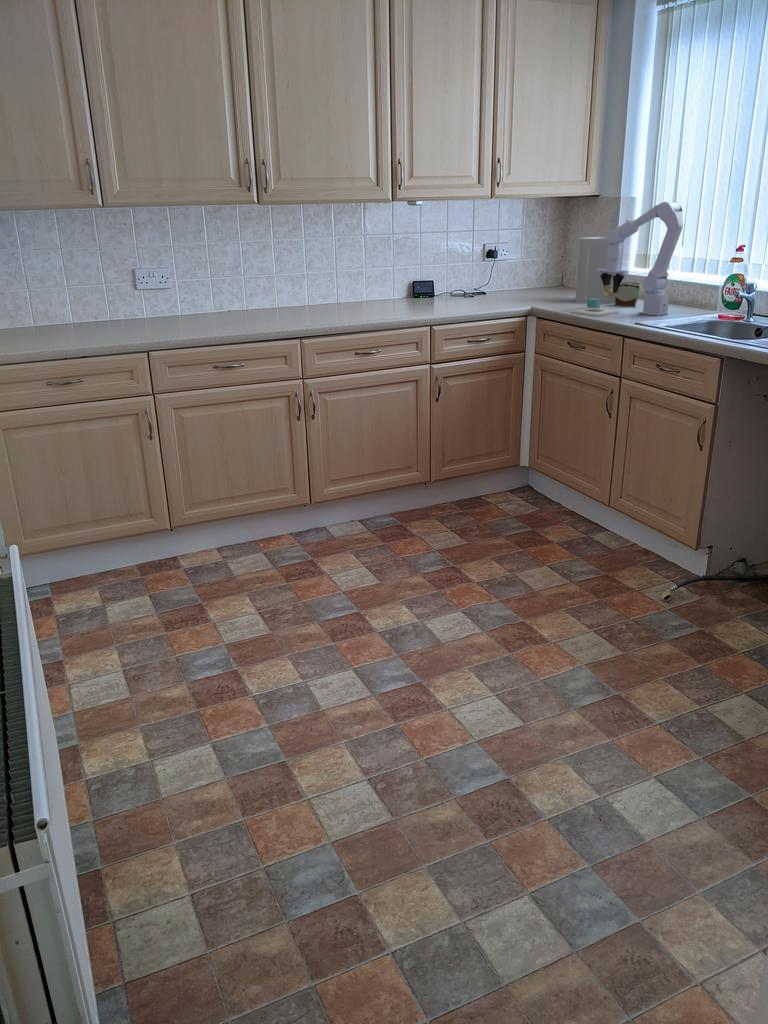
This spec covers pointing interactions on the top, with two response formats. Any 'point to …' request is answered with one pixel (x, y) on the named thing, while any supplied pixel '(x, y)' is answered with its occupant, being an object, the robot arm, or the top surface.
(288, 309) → the top surface
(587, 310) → the baseplate
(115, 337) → the top surface
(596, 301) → the teal brick
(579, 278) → the tall grey pillar
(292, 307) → the top surface
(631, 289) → the food container
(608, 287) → the birch brick
